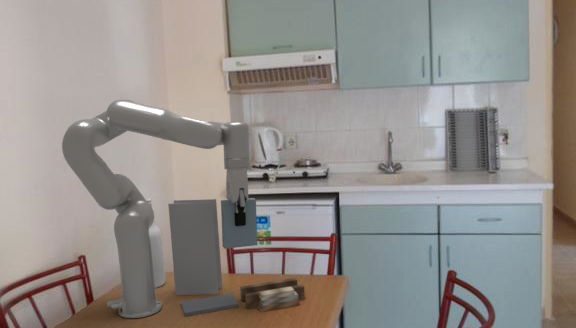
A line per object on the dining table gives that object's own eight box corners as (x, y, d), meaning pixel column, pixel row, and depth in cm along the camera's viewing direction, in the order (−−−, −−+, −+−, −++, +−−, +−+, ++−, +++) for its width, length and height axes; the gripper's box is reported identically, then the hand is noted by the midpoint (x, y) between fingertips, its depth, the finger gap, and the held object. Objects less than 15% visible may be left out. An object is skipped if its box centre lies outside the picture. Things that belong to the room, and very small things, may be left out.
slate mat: (184, 316, 150) (184, 312, 150) (181, 305, 159) (181, 302, 159) (238, 306, 155) (238, 303, 155) (232, 296, 164) (232, 293, 164)
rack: (247, 309, 153) (246, 296, 153) (241, 299, 161) (240, 286, 161) (304, 298, 159) (304, 286, 158) (295, 289, 167) (295, 277, 166)
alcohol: (135, 289, 175) (127, 202, 172) (145, 280, 184) (138, 197, 180) (160, 289, 174) (152, 201, 171) (169, 280, 183) (162, 196, 179)
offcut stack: (260, 311, 151) (259, 296, 150) (257, 307, 154) (256, 292, 153) (299, 304, 154) (298, 289, 154) (295, 300, 158) (294, 285, 157)
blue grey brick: (224, 248, 154) (222, 202, 152) (222, 246, 156) (220, 200, 155) (257, 245, 157) (255, 199, 155) (254, 242, 160) (253, 197, 158)
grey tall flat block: (222, 288, 172) (216, 199, 168) (218, 294, 167) (212, 202, 163) (180, 288, 173) (173, 200, 170) (175, 294, 168) (168, 203, 164)
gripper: (219, 161, 160) (221, 220, 162) (230, 167, 145) (232, 231, 147) (242, 160, 163) (244, 217, 165) (256, 165, 147) (258, 229, 149)
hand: (239, 223), depth 156 cm, fingers closed on blue grey brick, 3 cm apart
